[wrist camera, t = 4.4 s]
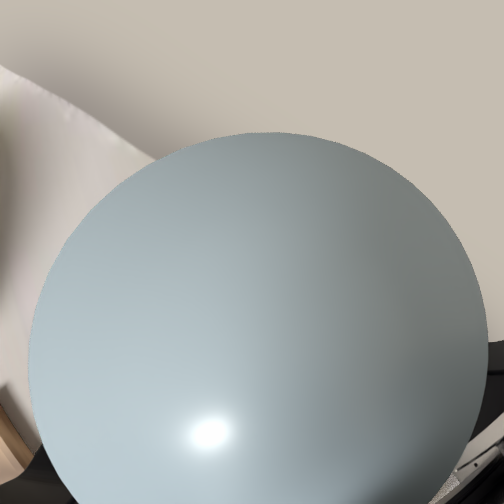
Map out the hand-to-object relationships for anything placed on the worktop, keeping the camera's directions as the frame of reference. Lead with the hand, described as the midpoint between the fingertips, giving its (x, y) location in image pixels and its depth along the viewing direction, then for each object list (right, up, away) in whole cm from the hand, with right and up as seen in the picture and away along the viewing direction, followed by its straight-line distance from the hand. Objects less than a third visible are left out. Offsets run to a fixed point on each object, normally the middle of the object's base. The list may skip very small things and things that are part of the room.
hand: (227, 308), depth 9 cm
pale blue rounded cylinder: (-1, -3, +6) cm, 7 cm away
